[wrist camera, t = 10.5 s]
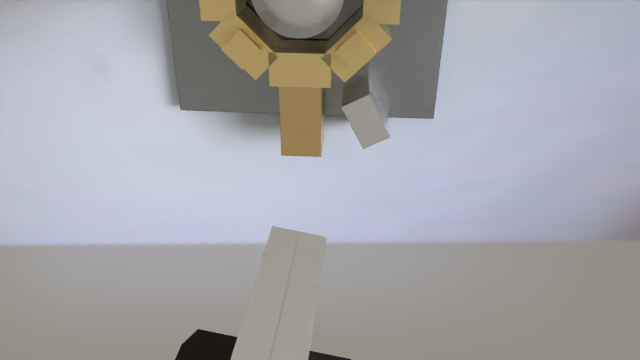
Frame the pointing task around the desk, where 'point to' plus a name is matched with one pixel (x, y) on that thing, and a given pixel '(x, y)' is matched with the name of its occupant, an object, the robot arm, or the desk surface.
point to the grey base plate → (343, 97)
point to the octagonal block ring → (300, 61)
